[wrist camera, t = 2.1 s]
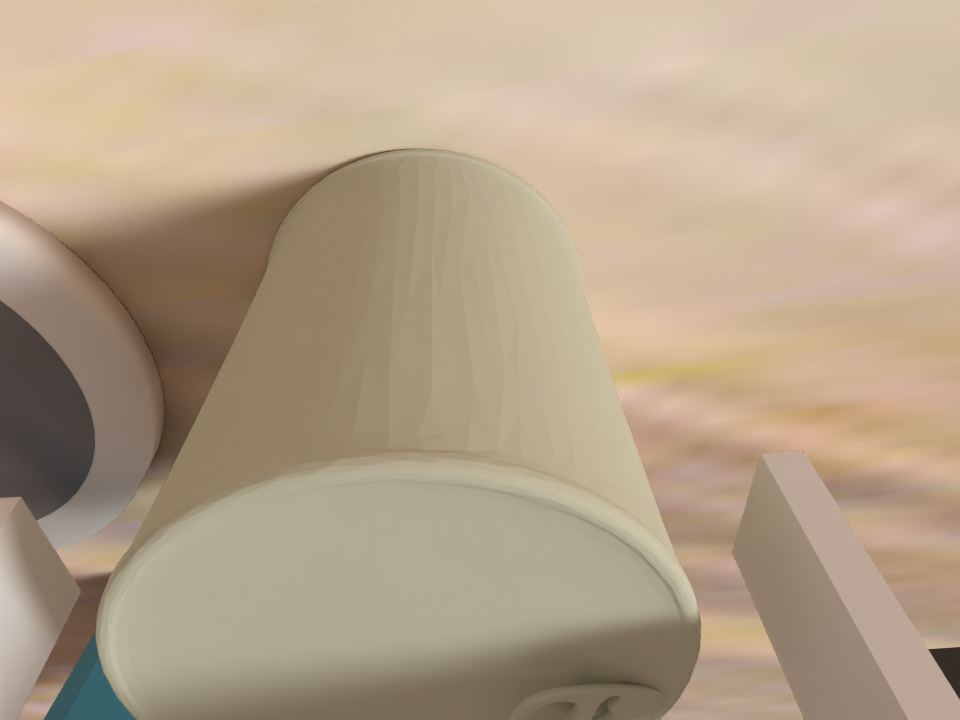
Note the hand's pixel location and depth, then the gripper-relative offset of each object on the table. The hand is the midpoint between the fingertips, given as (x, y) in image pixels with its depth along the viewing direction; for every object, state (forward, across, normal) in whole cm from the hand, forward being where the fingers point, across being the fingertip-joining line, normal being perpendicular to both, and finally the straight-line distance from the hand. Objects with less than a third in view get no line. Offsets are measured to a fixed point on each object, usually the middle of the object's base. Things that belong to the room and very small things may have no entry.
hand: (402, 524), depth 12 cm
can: (+9, 0, 0) cm, 9 cm away
